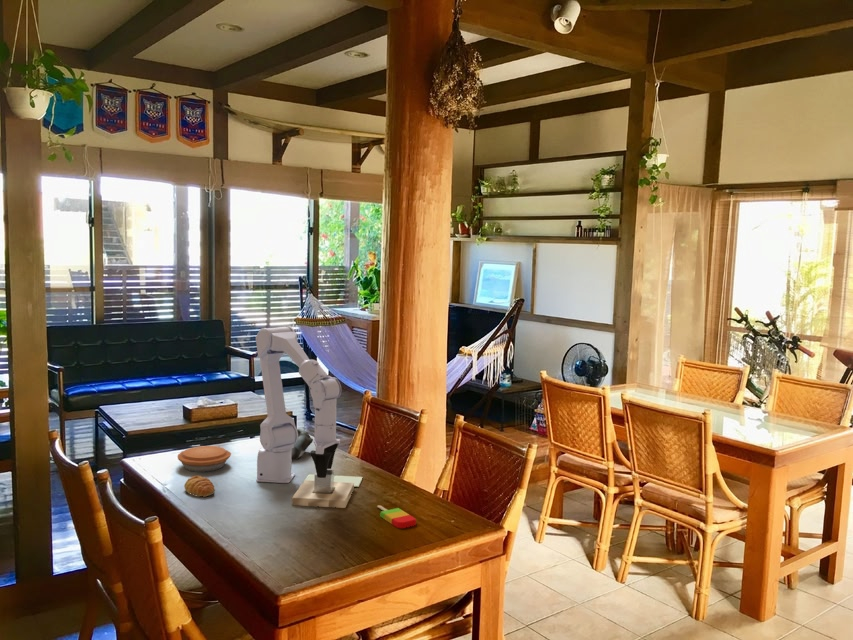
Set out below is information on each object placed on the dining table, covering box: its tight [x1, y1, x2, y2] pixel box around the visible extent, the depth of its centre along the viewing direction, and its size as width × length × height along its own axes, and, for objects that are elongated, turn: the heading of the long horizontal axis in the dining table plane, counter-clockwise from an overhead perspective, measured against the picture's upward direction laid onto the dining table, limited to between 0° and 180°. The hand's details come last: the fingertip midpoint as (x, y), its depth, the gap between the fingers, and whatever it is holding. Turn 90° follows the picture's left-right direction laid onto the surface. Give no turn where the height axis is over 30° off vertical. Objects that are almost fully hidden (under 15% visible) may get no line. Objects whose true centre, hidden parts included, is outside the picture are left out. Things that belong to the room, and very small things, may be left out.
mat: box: [304, 473, 364, 487], centre depth 206 cm, size 16×8×1 cm, turn 87°
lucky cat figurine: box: [273, 424, 314, 461], centre depth 230 cm, size 15×12×14 cm
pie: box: [177, 445, 232, 473], centre depth 216 cm, size 15×16×5 cm
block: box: [314, 469, 335, 494], centre depth 192 cm, size 4×4×7 cm
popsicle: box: [376, 504, 417, 529], centre depth 181 cm, size 6×15×2 cm, turn 34°
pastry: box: [184, 475, 216, 498], centre depth 193 cm, size 9×7×4 cm
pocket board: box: [291, 479, 355, 509], centre depth 193 cm, size 14×14×2 cm
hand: (324, 472), depth 192 cm, fingers open, 7 cm apart
